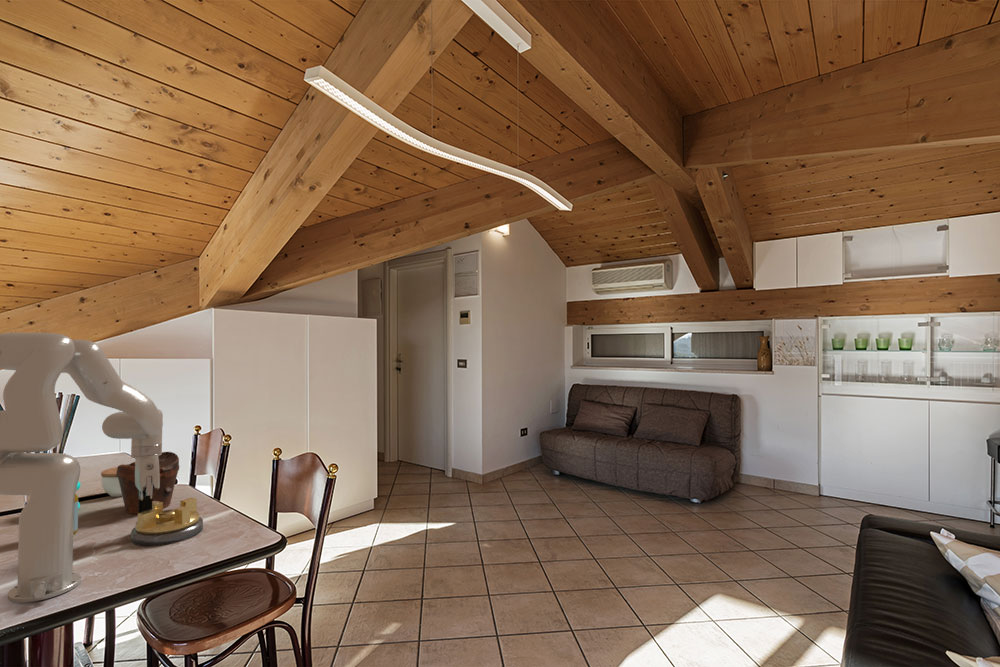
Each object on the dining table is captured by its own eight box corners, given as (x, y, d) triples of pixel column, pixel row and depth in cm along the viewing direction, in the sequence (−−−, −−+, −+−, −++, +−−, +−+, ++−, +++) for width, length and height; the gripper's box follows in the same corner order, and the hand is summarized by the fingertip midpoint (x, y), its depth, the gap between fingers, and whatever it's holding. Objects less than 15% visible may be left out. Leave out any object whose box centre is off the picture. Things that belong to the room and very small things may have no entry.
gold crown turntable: (158, 538, 140) (158, 517, 140) (122, 529, 146) (123, 509, 146) (211, 520, 154) (211, 500, 154) (176, 512, 161) (177, 494, 161)
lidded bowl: (119, 488, 195) (119, 460, 195) (150, 489, 195) (150, 460, 195) (91, 498, 183) (92, 468, 183) (124, 499, 182) (125, 469, 182)
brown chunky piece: (106, 521, 160) (108, 464, 160) (123, 502, 178) (125, 452, 179) (171, 514, 167) (173, 460, 168) (182, 497, 185) (183, 449, 186)
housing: (209, 534, 150) (210, 514, 150) (136, 551, 137) (137, 529, 137) (194, 518, 163) (194, 500, 163) (126, 533, 150) (126, 513, 150)
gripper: (166, 452, 147) (165, 515, 146) (156, 445, 157) (155, 503, 157) (135, 456, 141) (133, 521, 141) (127, 448, 152) (125, 509, 152)
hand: (145, 512), depth 149 cm, fingers closed
